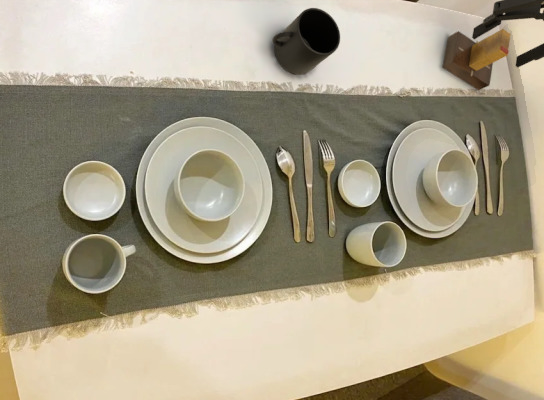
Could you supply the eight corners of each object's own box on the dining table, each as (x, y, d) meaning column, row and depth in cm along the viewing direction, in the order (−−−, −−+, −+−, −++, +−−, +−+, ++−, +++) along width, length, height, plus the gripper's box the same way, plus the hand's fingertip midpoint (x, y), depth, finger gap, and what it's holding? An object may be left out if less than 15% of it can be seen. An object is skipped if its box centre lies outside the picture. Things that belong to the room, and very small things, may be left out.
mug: (260, 27, 94) (282, 1, 86) (311, 34, 98) (337, 11, 90) (264, 71, 92) (287, 50, 84) (316, 77, 97) (343, 57, 89)
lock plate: (483, 58, 118) (495, 52, 116) (478, 92, 115) (489, 87, 112) (448, 35, 115) (459, 28, 112) (441, 69, 112) (452, 63, 109)
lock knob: (472, 45, 113) (503, 27, 105) (479, 50, 114) (511, 33, 106) (468, 66, 111) (500, 49, 104) (476, 71, 112) (508, 55, 104)
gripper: (550, -26, 83) (452, 34, 103) (639, 41, 90) (532, 86, 110) (553, -58, 86) (457, 8, 105) (640, 10, 93) (535, 60, 112)
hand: (495, 48), depth 107 cm, fingers open, 13 cm apart
